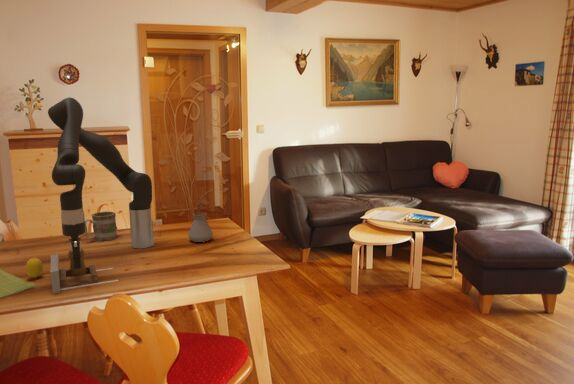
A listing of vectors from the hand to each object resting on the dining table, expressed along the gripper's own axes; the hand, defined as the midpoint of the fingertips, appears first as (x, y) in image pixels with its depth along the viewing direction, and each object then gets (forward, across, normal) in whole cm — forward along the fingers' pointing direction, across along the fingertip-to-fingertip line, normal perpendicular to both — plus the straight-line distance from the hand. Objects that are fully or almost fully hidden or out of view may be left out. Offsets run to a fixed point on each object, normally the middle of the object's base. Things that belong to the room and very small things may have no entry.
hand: (77, 264), depth 170 cm
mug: (+6, -53, +12) cm, 55 cm away
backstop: (+6, 0, +3) cm, 7 cm away
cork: (+5, 0, 0) cm, 5 cm away
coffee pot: (+6, -35, +55) cm, 65 cm away
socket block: (+6, 0, 0) cm, 6 cm away
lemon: (+6, -10, -14) cm, 18 cm away
